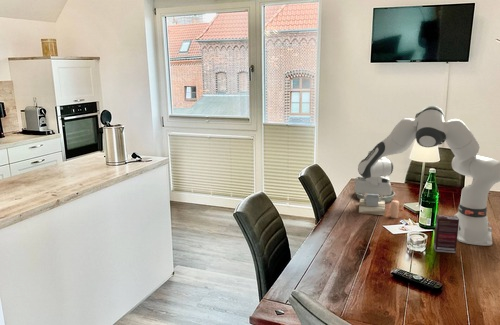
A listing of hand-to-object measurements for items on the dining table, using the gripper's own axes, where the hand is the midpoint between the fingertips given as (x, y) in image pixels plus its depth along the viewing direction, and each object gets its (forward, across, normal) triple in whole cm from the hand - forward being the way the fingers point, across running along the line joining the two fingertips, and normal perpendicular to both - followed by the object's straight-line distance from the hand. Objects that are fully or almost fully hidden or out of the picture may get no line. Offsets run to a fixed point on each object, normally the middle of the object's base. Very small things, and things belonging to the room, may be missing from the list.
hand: (372, 200), depth 226 cm
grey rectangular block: (+2, 0, 0) cm, 2 cm away
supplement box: (+6, +32, -45) cm, 55 cm away
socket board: (+6, 0, 0) cm, 6 cm away
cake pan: (+6, +1, +24) cm, 25 cm away
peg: (+6, +12, -8) cm, 15 cm away
